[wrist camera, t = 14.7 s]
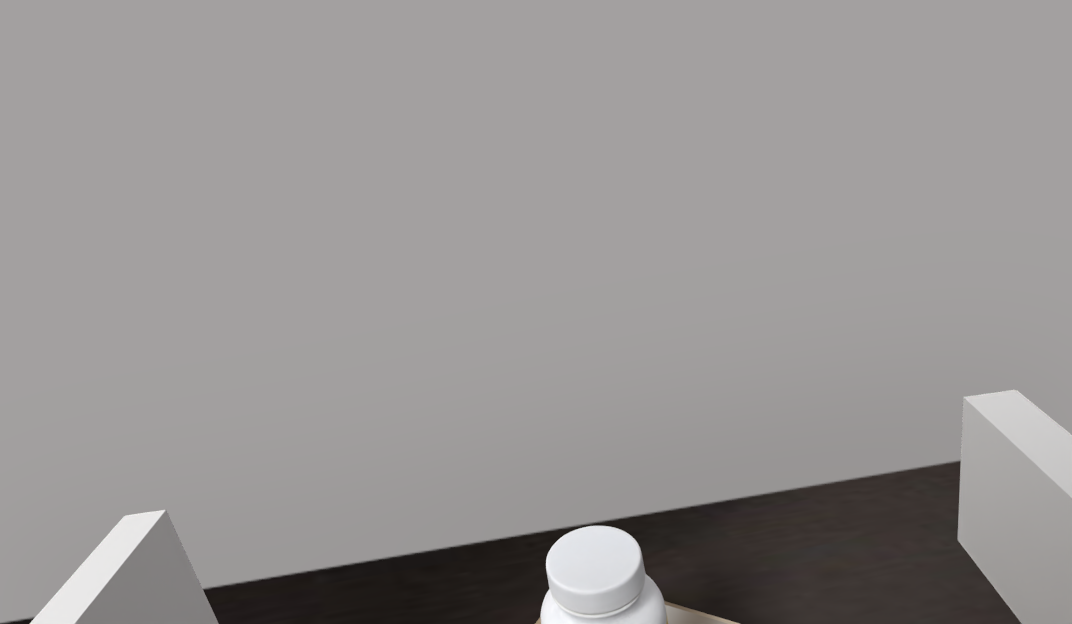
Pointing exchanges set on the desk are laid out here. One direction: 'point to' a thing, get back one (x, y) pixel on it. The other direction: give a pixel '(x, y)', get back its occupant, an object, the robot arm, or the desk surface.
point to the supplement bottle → (600, 581)
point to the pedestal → (687, 616)
